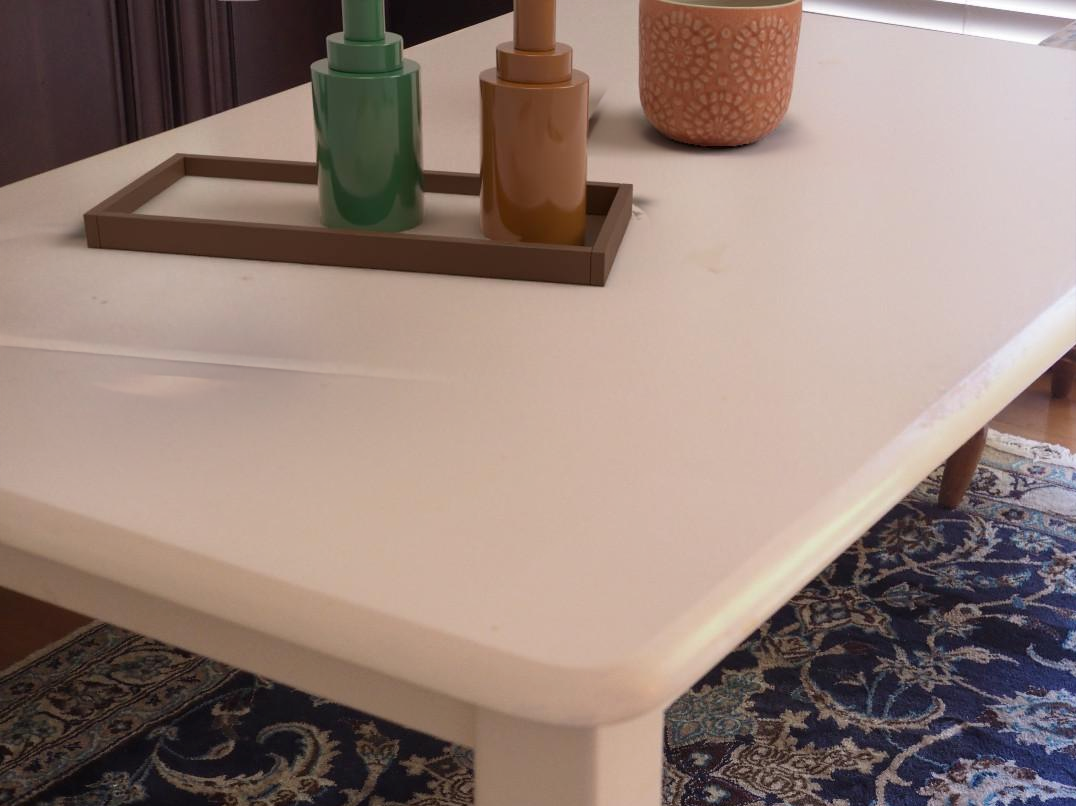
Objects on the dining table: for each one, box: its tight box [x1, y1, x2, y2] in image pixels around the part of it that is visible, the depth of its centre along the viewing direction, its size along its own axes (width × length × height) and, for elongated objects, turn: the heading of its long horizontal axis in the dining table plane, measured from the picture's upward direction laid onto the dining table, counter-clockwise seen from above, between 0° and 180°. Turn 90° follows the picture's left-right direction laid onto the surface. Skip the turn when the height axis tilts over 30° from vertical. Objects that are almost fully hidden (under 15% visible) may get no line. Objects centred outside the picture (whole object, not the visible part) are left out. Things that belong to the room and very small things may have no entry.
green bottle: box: [309, 0, 426, 233], centre depth 84 cm, size 6×6×15 cm
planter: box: [638, 0, 803, 147], centre depth 109 cm, size 12×12×11 cm
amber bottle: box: [478, 0, 590, 246], centre depth 83 cm, size 6×6×15 cm
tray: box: [82, 152, 634, 288], centre depth 87 cm, size 31×14×3 cm, turn 82°
